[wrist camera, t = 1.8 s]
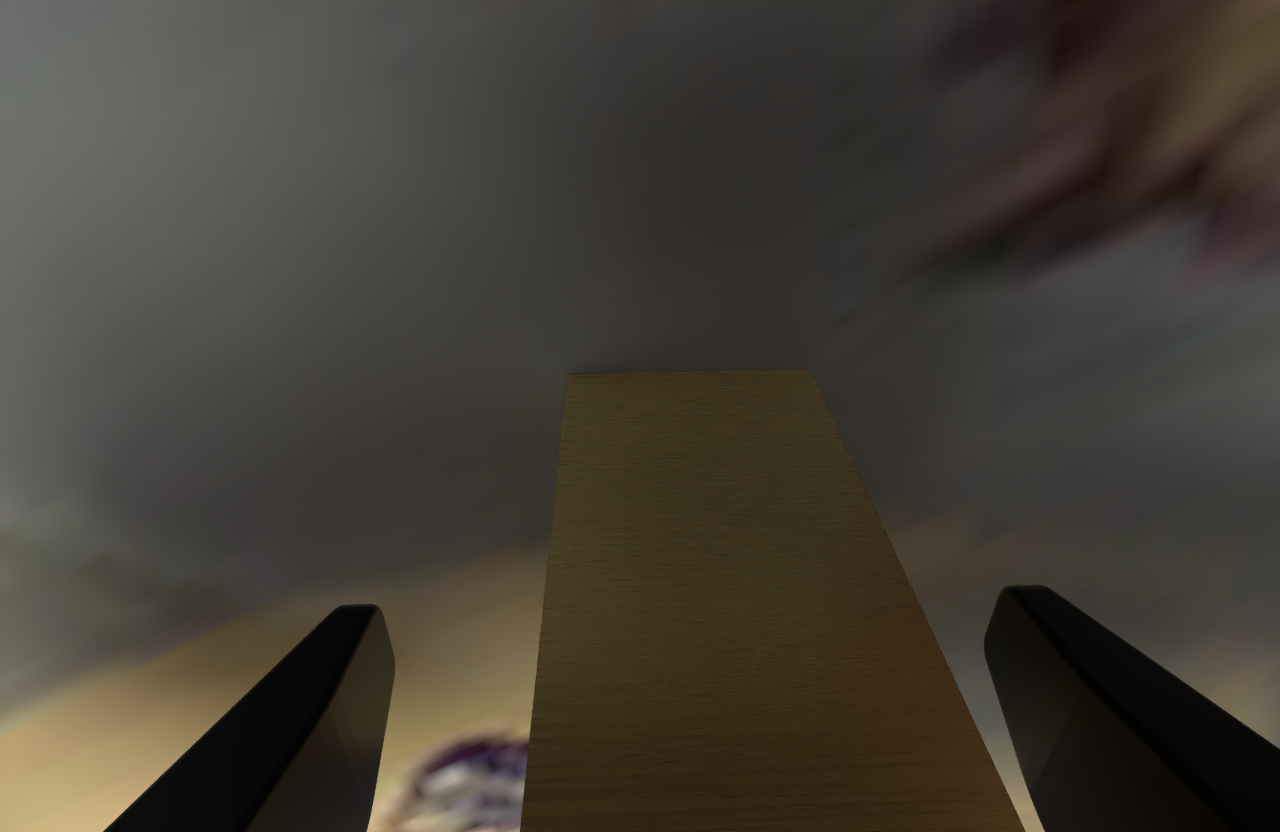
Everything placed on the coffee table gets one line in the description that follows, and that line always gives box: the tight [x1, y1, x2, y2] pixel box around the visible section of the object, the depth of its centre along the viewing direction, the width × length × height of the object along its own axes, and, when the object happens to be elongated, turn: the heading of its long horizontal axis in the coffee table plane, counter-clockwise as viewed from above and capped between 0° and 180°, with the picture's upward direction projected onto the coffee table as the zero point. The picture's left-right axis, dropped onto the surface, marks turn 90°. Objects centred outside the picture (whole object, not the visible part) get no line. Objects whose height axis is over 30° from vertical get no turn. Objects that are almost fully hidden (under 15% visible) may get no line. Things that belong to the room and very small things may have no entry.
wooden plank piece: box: [520, 369, 1026, 832], centre depth 7 cm, size 5×2×5 cm, turn 0°
